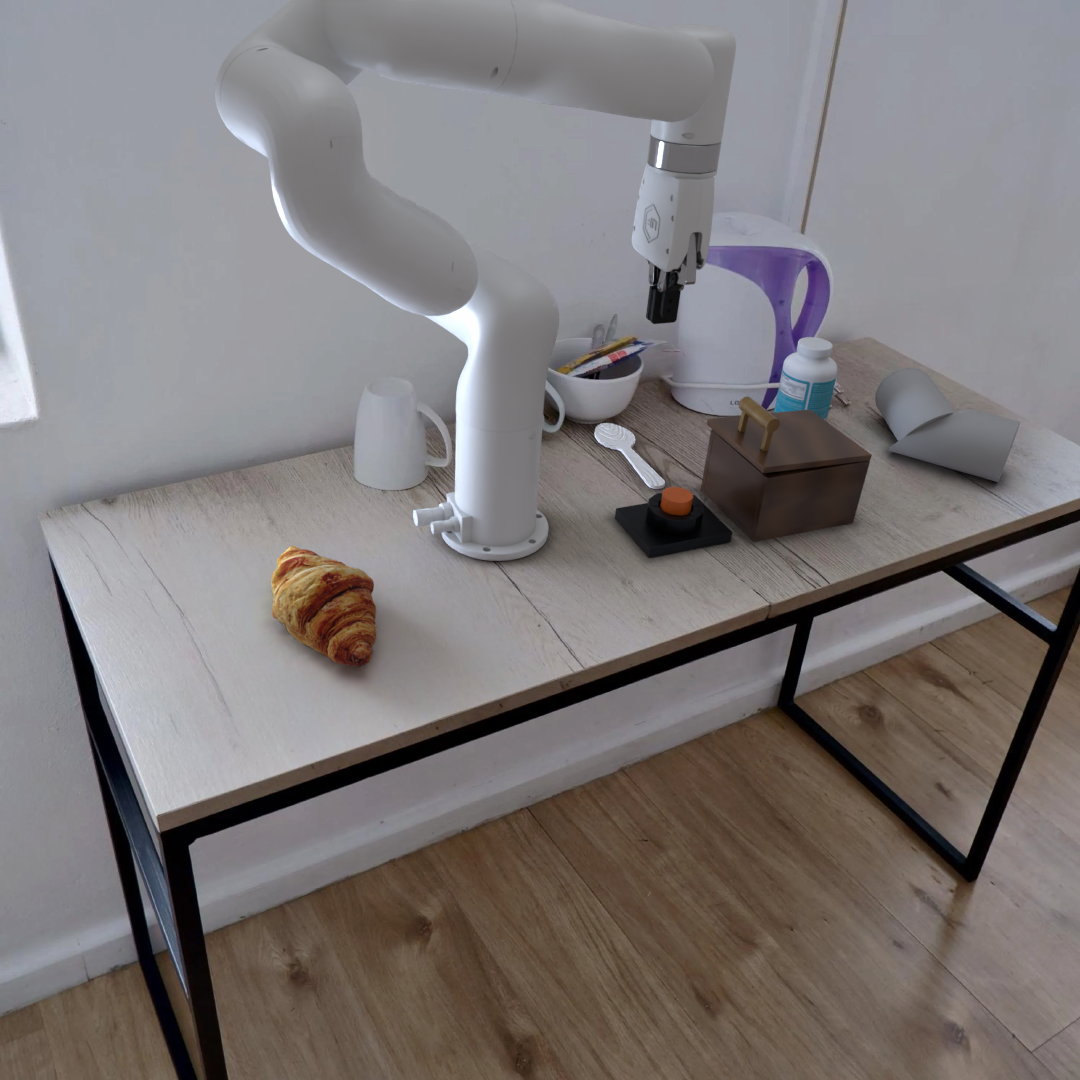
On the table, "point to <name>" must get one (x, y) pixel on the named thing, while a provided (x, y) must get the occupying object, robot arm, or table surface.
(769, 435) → the lid
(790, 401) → the pill bottle
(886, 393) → the elbow connector
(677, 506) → the button
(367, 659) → the croissant
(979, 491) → the table surface
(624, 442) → the spoon
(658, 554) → the switch block
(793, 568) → the table surface
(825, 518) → the tea box
